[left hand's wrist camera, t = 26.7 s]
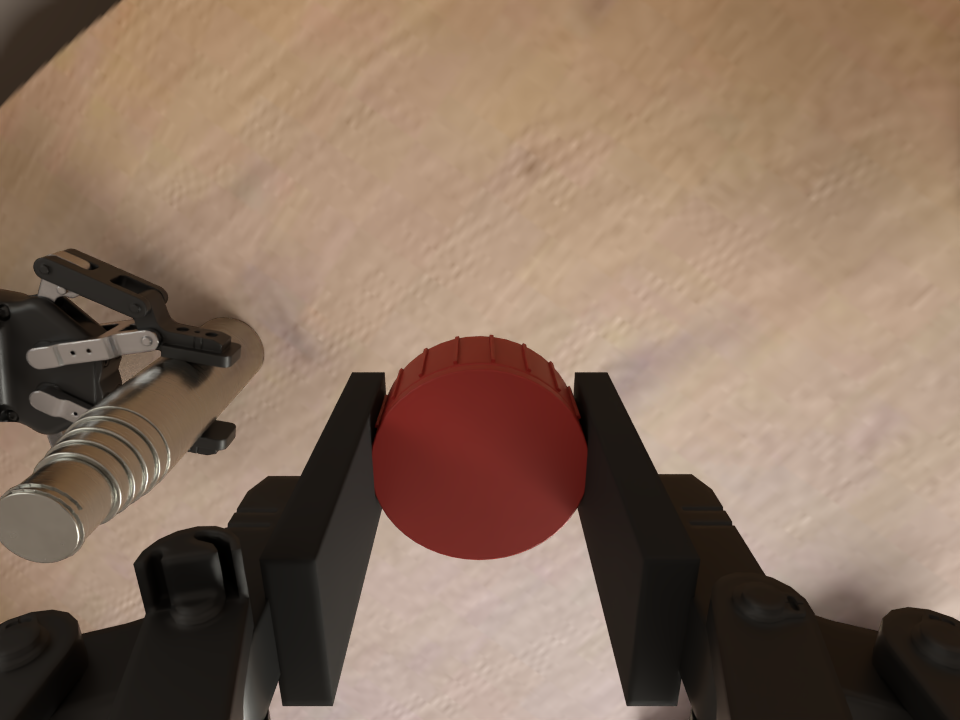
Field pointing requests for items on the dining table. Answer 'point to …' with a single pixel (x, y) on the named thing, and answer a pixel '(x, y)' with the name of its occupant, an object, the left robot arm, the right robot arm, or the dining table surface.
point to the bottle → (122, 449)
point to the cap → (479, 449)
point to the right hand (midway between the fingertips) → (232, 397)
